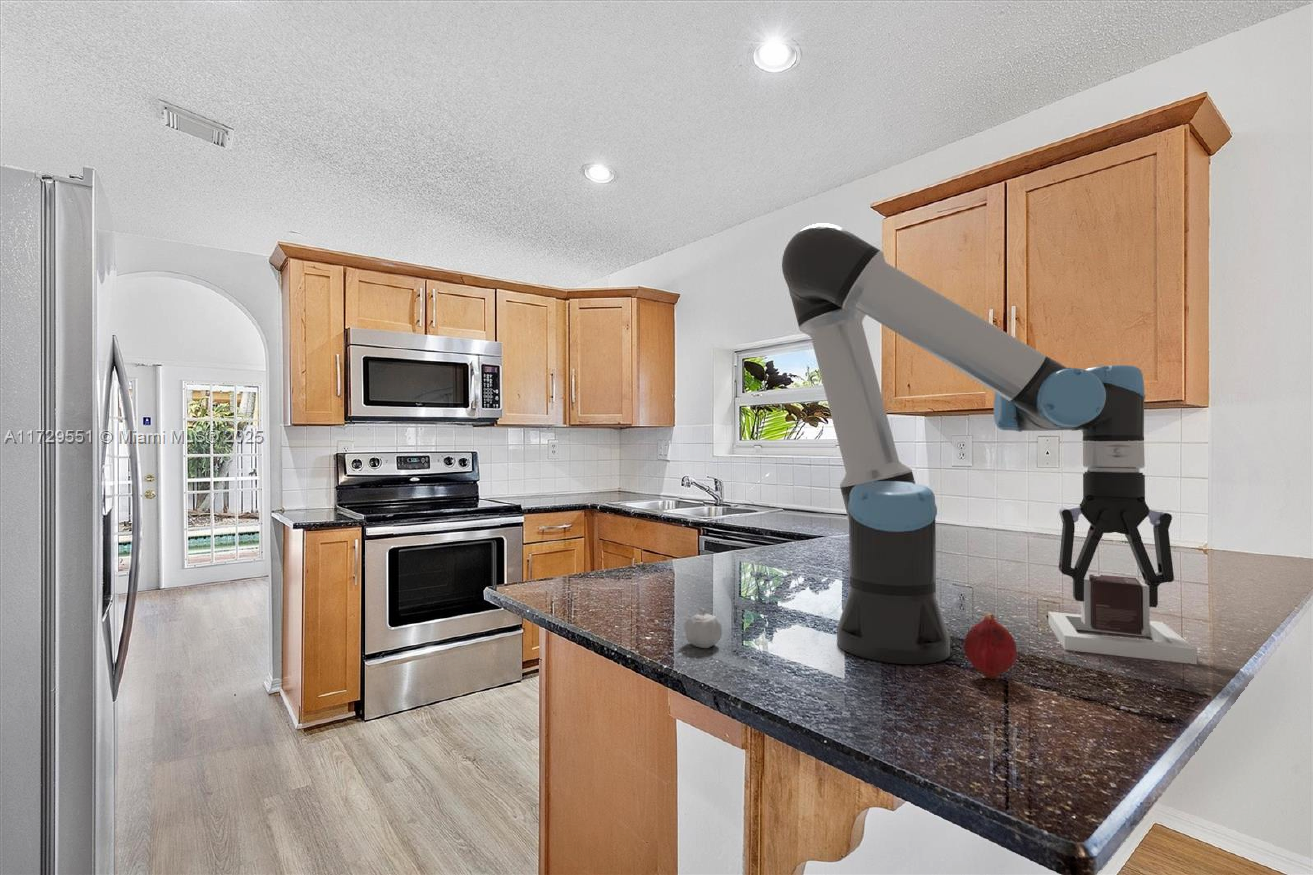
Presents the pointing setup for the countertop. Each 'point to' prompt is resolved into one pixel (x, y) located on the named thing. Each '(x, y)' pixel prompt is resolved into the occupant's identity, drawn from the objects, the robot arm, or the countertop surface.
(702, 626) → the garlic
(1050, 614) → the hole plate
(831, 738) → the countertop surface
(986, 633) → the onion
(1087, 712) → the countertop surface
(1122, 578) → the box
